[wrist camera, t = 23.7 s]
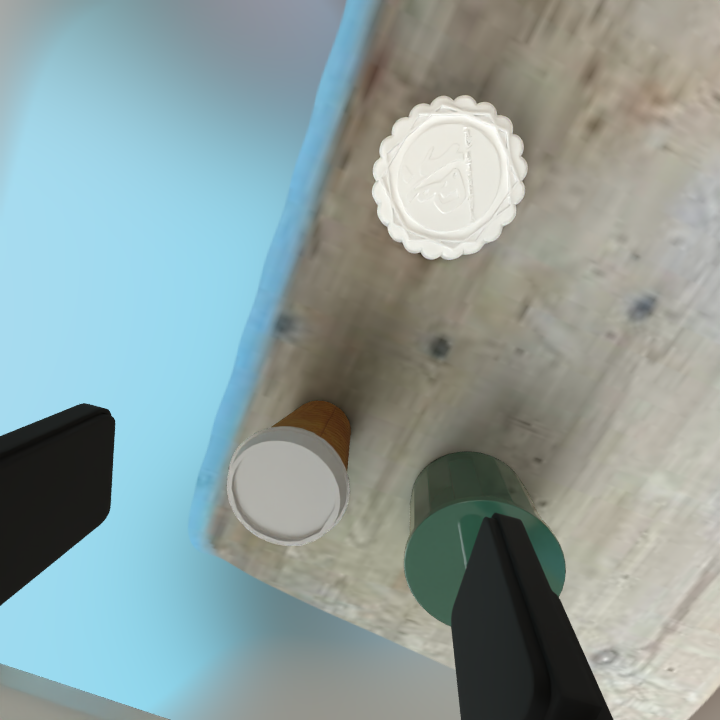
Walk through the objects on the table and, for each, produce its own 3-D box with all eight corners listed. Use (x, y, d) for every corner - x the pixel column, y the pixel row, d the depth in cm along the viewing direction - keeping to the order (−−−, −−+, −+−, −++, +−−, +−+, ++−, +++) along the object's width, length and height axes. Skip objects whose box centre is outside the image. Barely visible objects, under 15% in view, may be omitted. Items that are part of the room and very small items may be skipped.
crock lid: (550, 481, 30) (588, 541, 23) (568, 616, 32) (608, 704, 25) (390, 501, 32) (384, 560, 25) (419, 626, 34) (420, 709, 28)
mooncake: (366, 124, 33) (361, 107, 29) (514, 96, 31) (527, 74, 28) (383, 268, 35) (379, 268, 32) (521, 250, 33) (533, 248, 30)
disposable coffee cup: (307, 485, 42) (265, 569, 30) (258, 411, 40) (196, 468, 29) (384, 448, 39) (371, 522, 28) (335, 368, 38) (301, 411, 27)
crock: (517, 443, 37) (547, 492, 29) (533, 545, 40) (565, 617, 31) (401, 460, 39) (397, 510, 31) (422, 556, 42) (424, 626, 33)
